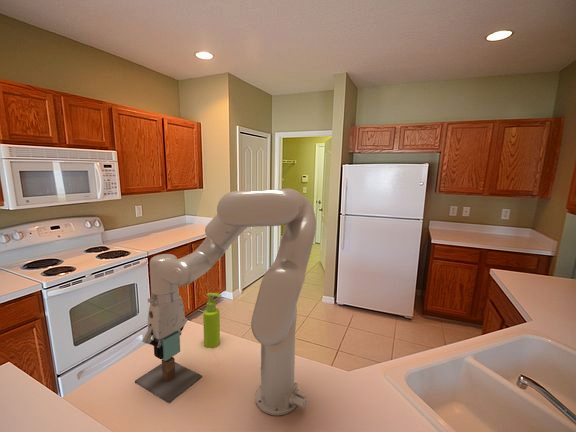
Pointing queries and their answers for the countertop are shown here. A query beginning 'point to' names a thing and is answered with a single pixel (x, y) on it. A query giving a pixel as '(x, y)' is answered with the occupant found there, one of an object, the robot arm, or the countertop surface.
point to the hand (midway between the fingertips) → (167, 351)
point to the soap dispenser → (211, 322)
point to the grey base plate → (168, 380)
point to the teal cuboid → (171, 345)
